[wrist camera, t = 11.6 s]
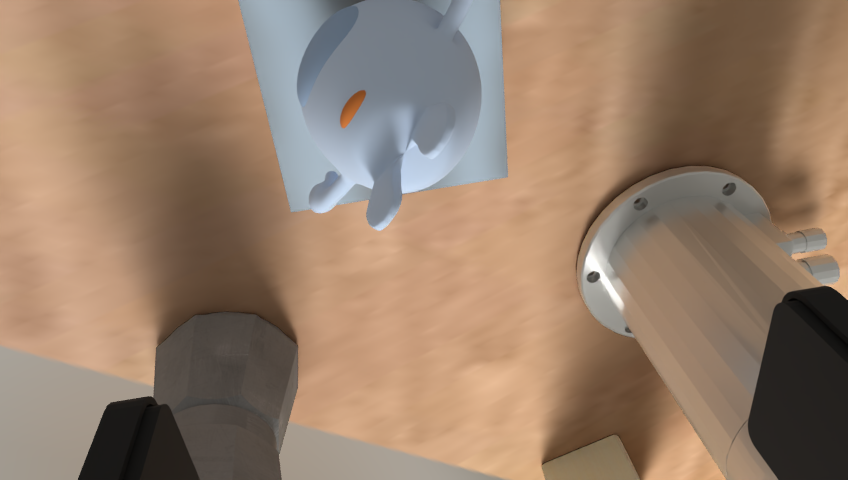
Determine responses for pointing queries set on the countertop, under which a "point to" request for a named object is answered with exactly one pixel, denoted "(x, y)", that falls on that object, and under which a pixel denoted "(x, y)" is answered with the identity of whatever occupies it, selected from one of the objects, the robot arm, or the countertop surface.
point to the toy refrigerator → (593, 463)
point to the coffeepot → (229, 392)
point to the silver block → (277, 74)
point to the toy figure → (389, 100)
